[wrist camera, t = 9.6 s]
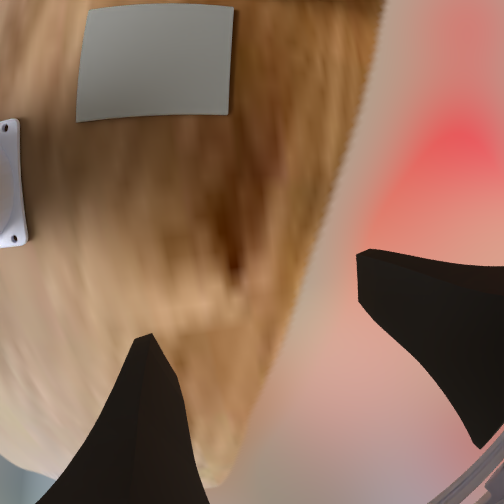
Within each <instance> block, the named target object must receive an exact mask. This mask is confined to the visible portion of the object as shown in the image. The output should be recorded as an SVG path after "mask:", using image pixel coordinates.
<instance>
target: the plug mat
mask: <svg viewBox="0 0 504 504" xmlns="http://www.w3.org/2000/svg"><path fill="white" fill-rule="evenodd" d="M233 13H234V7H227V6H217V5H204V4H178V3H164V4H138V5H125V6H115V7H106V8H99V9H92V10H89V12H88V16H87V21H86V27H85V32H84V38H83V45H82V51H81V59H80V68H79V77H78V89H77V105H76V122H77V123H79V122H86V121H94V120H103V119H112V118H123V117H137V116H155V115H228V103H229V81H230V61H231V44H232V28H233Z"/></svg>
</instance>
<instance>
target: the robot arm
mask: <svg viewBox="0 0 504 504" xmlns="http://www.w3.org/2000/svg"><path fill="white" fill-rule="evenodd" d="M6 125H8V130H7V131H6V132H5V126H6ZM14 235H15V236H16V237H17V241H16V240H14ZM27 241H28V231H27V225H26V218H25V211H24V203H23V193H22V182H21V167H20V122H19V120H18V119H14V118H13V119H8V120H4V121H1V122H0V248H6V247H14V246H22V245H25V244H26V242H27ZM356 261H357V278H358V302H359V303H360V304H361V305H362V307H363V308H364V309H365V310H366V312H367V313H368V314H369V315H370V316H371V318H372V319H373V320H374V321H375V322H376V323H377V324H378V325H379V326H380V327H382V328H383V329H384V330H385V331H386V332H387V333H388V334H389V335H390V336H391V337H393V338H394V339H395V340H396V341H397V342H398V343H399V344H400V345H401V346H402V347H404V348H405V349H406V350H407V351H408V352H409V353H410V354H411V355H412V356H413V357H414V358H415V359H416V360H417V361H418V362H419V363H420V364H421V365H422V366H423V367H424V368H425V370H426V371H427V372H428V373H429V374H430V376H431V377H432V378H433V379H434V380H435V382H436V383H437V384H438V386H439V387H440V389H441V390H442V391H443V392H444V394H445V395H446V397H447V398H448V399H449V401H450V403H451V404H452V406H453V407H454V409H455V410H456V412H457V413H458V415H459V417H460V418H461V420H462V422H463V424H464V426H465V428H466V429H467V431H468V433H469V435H470V437H471V439H472V442H473V443H474V444H475V445H476V446H477V447H478V448H479V449H481V448H482V447H483V446H484V445H485V444H486V443H487V442H488V441H489V440H490V439H491V438H492V437H493V435H494V434H495V433H496V432H497V431H498V430H499V429H500V427H501V426H502V425H503V424H504V266H475V265H463V264H455V263H449V262H442V261H436V260H431V259H425V258H420V257H415V256H410V255H405V254H400V253H395V252H389V251H384V250H377V249H368V250H366V251H363V252H361V253H359V254H357V255H356ZM503 458H504V431H503V433H502V434H501V435H500V436H499V437H498V438H497V439H496V441H495V442H494V443H493V444H492V445H491V446H490V447H489V449H487V451H486V452H485V453H484V454H483V455H482V456H481V457H480V458H479V459H478V460H477V461H476V462H475V463H474V464H473V465H472V466H471V467H470V468H469V469H468V470H467V471H466V472H465V473H464V474H463V475H461V476H460V477H459V478H458V479H457V480H456V481H455V482H453V483H452V484H451V485H450V486H449V487H448V488H446V489H445V490H444V491H443V492H442V493H440V494H439V495H438V496H437V497H436V498H435V499H433V500H432V501H430V502H429V503H428V504H459V503H461V502H462V501H463V500H464V499H465V498H466V497H467V496H468V495H469V494H470V493H471V492H472V491H473V490H475V489H476V487H478V486H479V485H480V484H481V483H482V481H483V480H484V479H485V478H486V477H487V476H488V475H489V474H490V473H491V472H492V471H493V470H494V469H495V468H496V466H498V464H499V463H500V462H501V461H502V460H503ZM485 488H486V489H487V490H488V491H487V492H486V494H484V495H483V496H482V497H481V498H480V499H479V500H478V501H477V502H476V503H475V504H504V463H503V464H502V465H501V466H500V467H499V468H498V469H497V470H496V471H495V472H494V474H493V475H492V476H491V477H490V479H489V480H488V481H487V483H486V484H485ZM35 504H210V503H209V501H208V498H207V496H206V494H205V491H204V488H203V485H202V482H201V480H200V477H199V474H198V471H197V467H196V463H195V459H194V454H193V449H192V444H191V439H190V433H189V428H188V422H187V416H186V410H185V404H184V400H183V396H182V393H181V389H180V385H179V382H178V378H177V375H176V374H175V372H174V371H173V369H172V367H171V366H170V364H169V362H168V360H167V359H166V357H165V355H164V354H163V352H162V350H161V348H160V347H159V345H158V343H157V341H156V339H155V338H154V336H153V334H152V333H151V334H148V335H145V336H142V337H139V338H136V339H134V342H133V344H132V346H131V348H130V350H129V353H128V355H127V357H126V360H125V362H124V364H123V366H122V369H121V371H120V373H119V376H118V378H117V380H116V382H115V385H114V387H113V389H112V391H111V393H110V395H109V397H108V399H107V401H106V403H105V406H104V408H103V410H102V412H101V414H100V416H99V418H98V419H97V421H96V423H95V425H94V427H93V428H92V430H91V432H90V433H89V435H88V437H87V438H86V440H85V442H84V443H83V445H82V446H81V448H80V449H79V451H78V452H77V454H76V455H75V456H74V458H73V459H72V461H71V462H70V464H69V465H68V466H67V468H66V469H65V471H64V472H63V473H62V474H61V476H60V477H59V478H58V479H57V481H56V482H55V483H54V484H53V485H52V486H51V488H50V489H49V490H48V491H47V492H46V493H45V495H43V496H42V498H41V499H40V500H39V501H38V502H37V503H35Z"/></svg>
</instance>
